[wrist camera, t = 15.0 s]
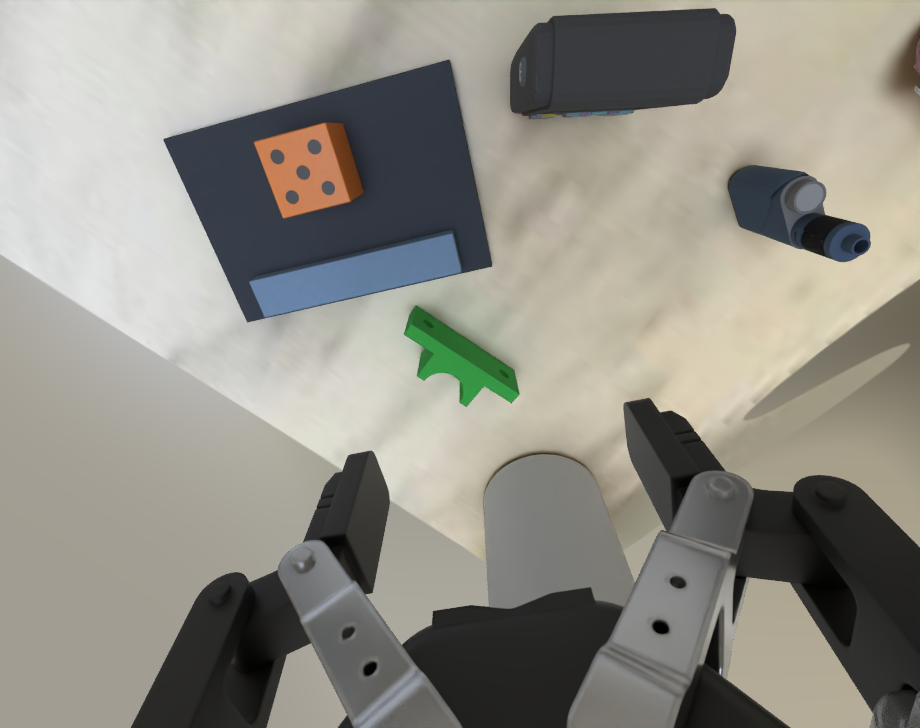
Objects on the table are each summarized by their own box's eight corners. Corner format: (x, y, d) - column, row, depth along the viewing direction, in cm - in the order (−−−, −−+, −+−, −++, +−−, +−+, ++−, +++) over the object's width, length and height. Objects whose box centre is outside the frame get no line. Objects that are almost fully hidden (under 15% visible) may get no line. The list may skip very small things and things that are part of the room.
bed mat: (171, 138, 37) (150, 139, 34) (449, 61, 34) (448, 56, 32) (252, 317, 43) (239, 329, 41) (491, 262, 41) (493, 271, 38)
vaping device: (739, 235, 40) (841, 275, 29) (722, 175, 38) (825, 195, 27) (771, 219, 39) (887, 254, 28) (755, 158, 37) (874, 171, 26)
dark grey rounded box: (504, 120, 36) (529, 115, 23) (504, 57, 34) (531, 11, 21) (627, 115, 36) (725, 107, 22) (633, 51, 34) (745, 1, 21)
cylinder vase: (606, 525, 54) (709, 807, 32) (499, 549, 56) (524, 832, 33) (586, 437, 49) (691, 702, 26) (469, 466, 50) (474, 738, 28)
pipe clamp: (393, 336, 44) (386, 357, 40) (416, 304, 43) (410, 323, 39) (491, 398, 47) (493, 424, 43) (515, 370, 45) (519, 394, 41)
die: (279, 140, 36) (252, 142, 31) (342, 122, 35) (325, 122, 31) (304, 208, 38) (282, 219, 33) (364, 192, 37) (350, 201, 33)
